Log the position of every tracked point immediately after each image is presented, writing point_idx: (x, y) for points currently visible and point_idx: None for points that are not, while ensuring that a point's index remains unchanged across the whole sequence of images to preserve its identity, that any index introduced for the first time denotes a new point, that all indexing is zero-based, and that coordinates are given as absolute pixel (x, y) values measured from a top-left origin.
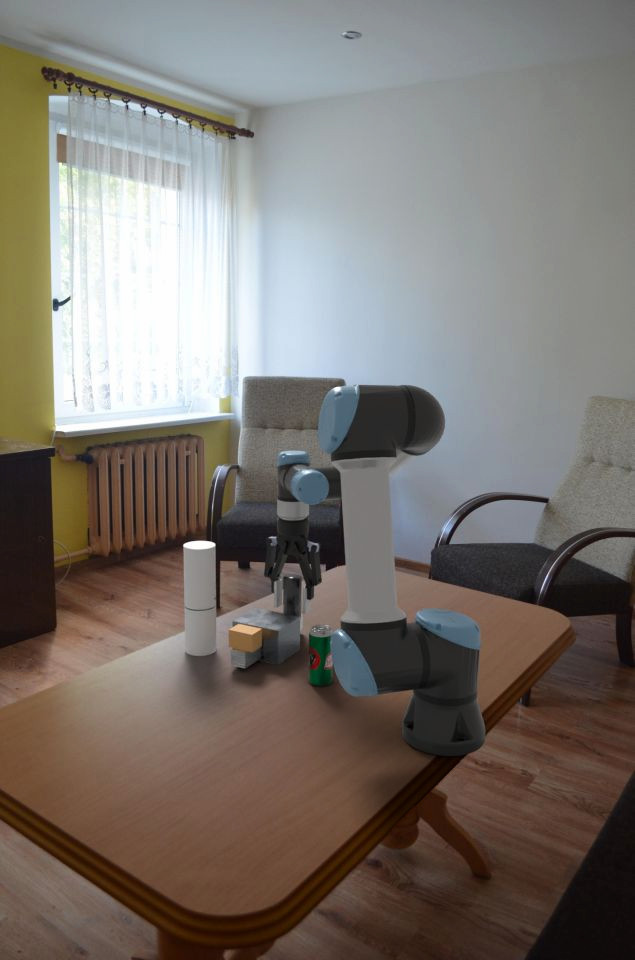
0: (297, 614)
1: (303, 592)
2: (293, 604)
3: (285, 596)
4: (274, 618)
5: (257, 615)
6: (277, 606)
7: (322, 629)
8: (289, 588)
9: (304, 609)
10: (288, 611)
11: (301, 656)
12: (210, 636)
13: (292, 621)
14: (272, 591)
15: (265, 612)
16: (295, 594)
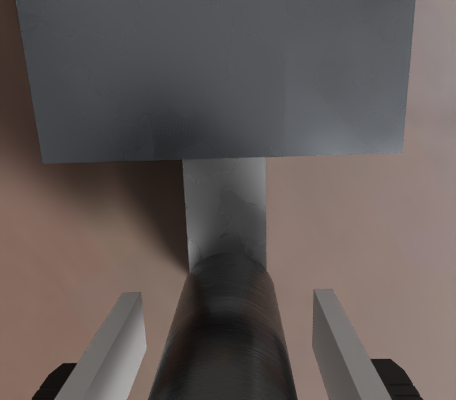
0: (182, 290)
1: (84, 389)
2: (188, 307)
3: (245, 327)
4: (166, 31)
5: (311, 16)
6: (314, 301)
7: None
8: (201, 380)
9: (121, 305)
10: (221, 273)
11: None
12: None
13: (27, 53)
14: (390, 367)
15: (291, 106)
16: (166, 363)
